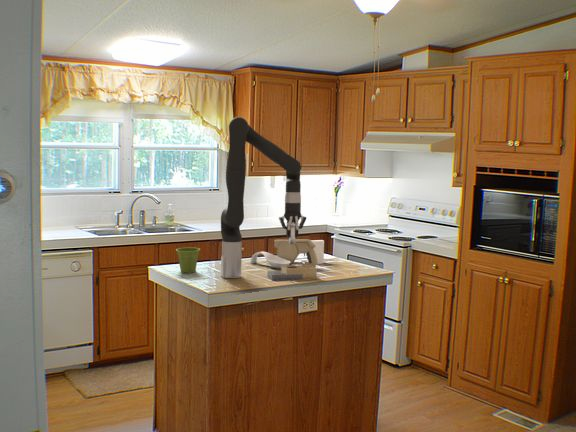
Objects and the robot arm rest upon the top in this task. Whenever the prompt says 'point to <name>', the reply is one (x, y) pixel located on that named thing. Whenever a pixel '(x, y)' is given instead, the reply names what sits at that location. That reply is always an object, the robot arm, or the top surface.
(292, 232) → the pin
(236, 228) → the robot arm
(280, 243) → the gun
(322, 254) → the base with upright slab
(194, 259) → the plant pot
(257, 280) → the top surface
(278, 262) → the spoon rest
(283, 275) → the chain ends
